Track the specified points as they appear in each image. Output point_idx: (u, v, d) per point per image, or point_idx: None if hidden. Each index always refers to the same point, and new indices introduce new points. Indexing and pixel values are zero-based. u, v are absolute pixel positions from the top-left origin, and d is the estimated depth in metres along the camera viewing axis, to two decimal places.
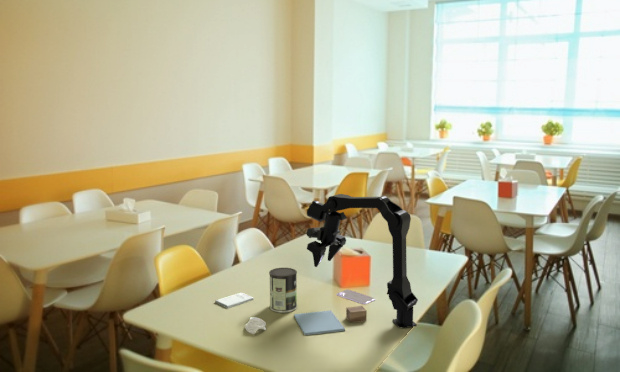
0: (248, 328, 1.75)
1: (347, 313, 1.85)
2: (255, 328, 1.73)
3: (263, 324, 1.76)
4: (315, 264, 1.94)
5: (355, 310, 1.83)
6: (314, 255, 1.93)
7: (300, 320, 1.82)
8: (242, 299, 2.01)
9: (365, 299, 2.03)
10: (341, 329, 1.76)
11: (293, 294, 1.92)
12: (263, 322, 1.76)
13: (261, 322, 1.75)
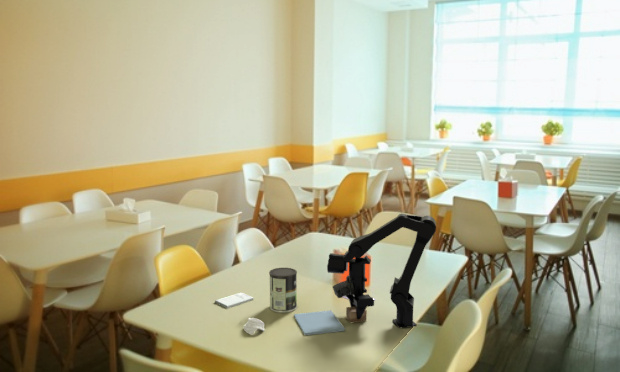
0: (247, 329, 1.75)
1: (347, 313, 1.85)
2: (254, 329, 1.73)
3: (262, 325, 1.75)
4: (359, 316, 1.82)
5: (355, 310, 1.83)
6: (358, 308, 1.81)
7: (300, 320, 1.82)
8: (242, 299, 2.01)
9: None
10: (341, 329, 1.76)
11: (293, 294, 1.92)
12: (262, 323, 1.75)
13: (260, 323, 1.75)
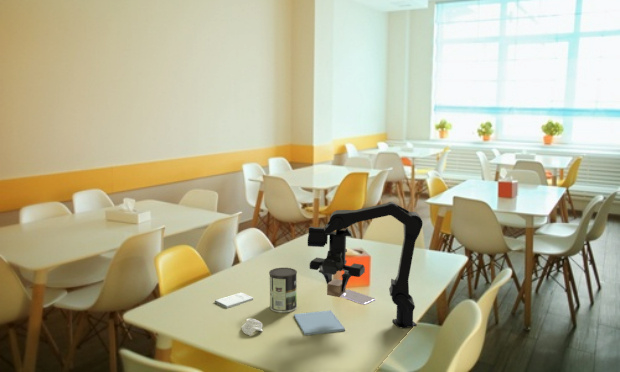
0: (245, 330, 1.74)
1: (330, 289, 1.79)
2: (252, 330, 1.72)
3: (260, 325, 1.75)
4: (344, 288, 1.81)
5: (339, 283, 1.80)
6: None
7: (300, 320, 1.82)
8: (242, 299, 2.01)
9: (365, 299, 2.03)
10: (341, 329, 1.76)
11: (293, 294, 1.92)
12: (260, 323, 1.75)
13: (258, 323, 1.74)
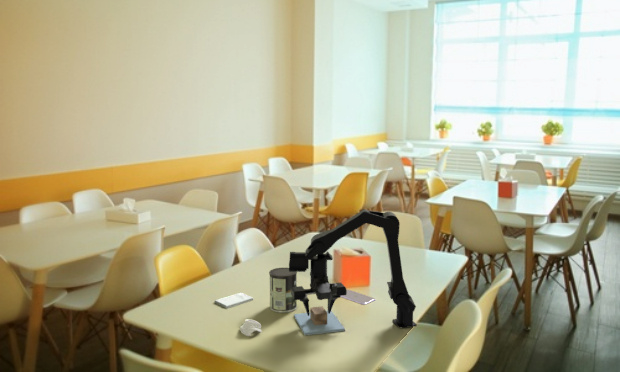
0: (243, 330, 1.73)
1: (318, 318, 1.78)
2: (250, 330, 1.72)
3: (258, 326, 1.74)
4: None
5: (323, 310, 1.81)
6: None
7: (300, 320, 1.82)
8: (241, 299, 2.01)
9: (365, 299, 2.02)
10: (341, 329, 1.76)
11: None
12: (258, 324, 1.74)
13: (256, 324, 1.74)
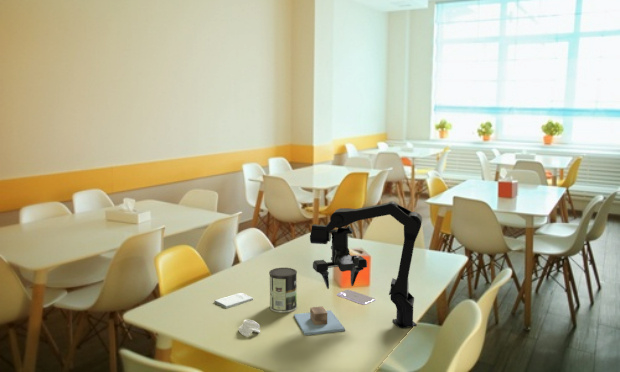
0: (242, 331, 1.73)
1: (318, 318, 1.78)
2: (249, 331, 1.71)
3: (257, 327, 1.74)
4: None
5: (323, 310, 1.81)
6: None
7: (300, 320, 1.82)
8: (241, 299, 2.01)
9: (365, 299, 2.02)
10: (341, 329, 1.76)
11: (293, 294, 1.92)
12: (257, 325, 1.74)
13: (255, 325, 1.73)
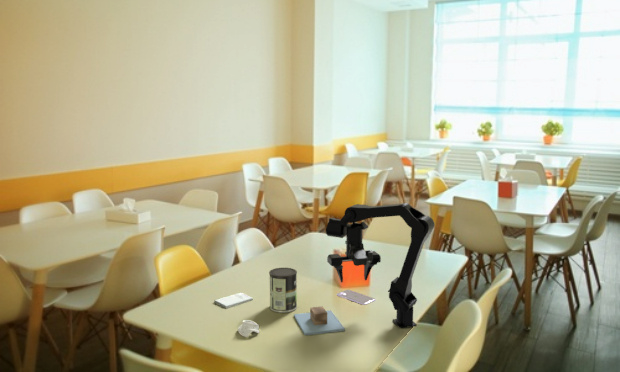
0: (241, 331, 1.73)
1: (318, 318, 1.78)
2: (248, 331, 1.71)
3: (256, 327, 1.73)
4: None
5: (323, 310, 1.81)
6: None
7: (300, 320, 1.82)
8: (241, 299, 2.01)
9: (365, 299, 2.02)
10: (341, 329, 1.76)
11: (293, 294, 1.92)
12: (256, 325, 1.74)
13: (254, 325, 1.73)
